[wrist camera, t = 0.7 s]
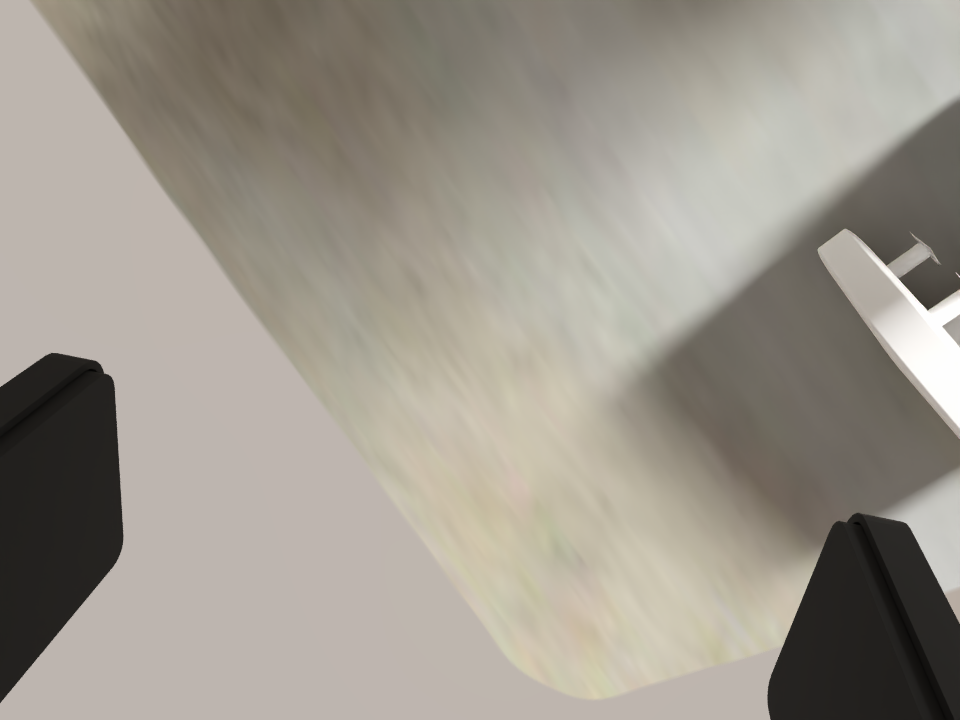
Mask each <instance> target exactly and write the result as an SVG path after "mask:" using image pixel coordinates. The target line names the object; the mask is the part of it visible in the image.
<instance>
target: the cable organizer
mask: <svg viewBox="0 0 960 720" xmlns="http://www.w3.org/2000/svg"><path fill="white" fill-rule="evenodd" d="M910 233H911V232H910ZM911 234H912V233H911ZM912 235H913V234H912ZM913 237H914V238H915V239H916V240H917V241H918V242H919V243H918V244H916V245H915V246H913V247H912V248H911V249H909V250H908V251H906V252H905V253H904V254H902V255H901V256H899V257H898V258H897V259H895V260H894V261H892V262H891V263H890V264H888V265H887V266H886V265H885V264H884V263H883V262H882V261H881V260H880V258H879V257H878V256H877V255H876V254H875V253H874V252H873V251H872V250H871V249H870V248H869V247H868V246H867V245H866V244H865V243H864V242H863V241H862V240H861V239H860V238H859V237H858V236H856V235H855V234H854V233H852V232H851V231H850V230H848V229H843V230H842V231H841V232H839V233H838V234H837V235H835V236H834V237H833V238H831V239H830V240H829V241H827V242H826V243H825V244H823V245H822V246H821V247H819V248H818V254H819V256H820V258H821V260H822V262H823V263H824V265H825V267H826V268H827V270H828V271H829V273H830V274H831V275H832V277H833V278H834V280H835V281H836V282H837V284H838V285H839V287H840V288H841V289H842V291H843V292H844V294H845V295H846V296H847V298H848V299H849V301H850V302H851V303H852V305H853V306H854V308H855V309H856V310H857V312H858V313H859V315H860V316H861V317H862V319H863V320H864V322H865V323H866V324H867V326H868V327H869V329H870V330H871V331H872V333H873V334H874V336H875V337H876V338H877V340H878V341H879V343H880V344H881V345H882V347H883V348H884V350H885V351H886V352H887V354H888V355H889V356H890V358H891V359H892V360H893V361H894V363H895V364H896V365H897V366H898V368H899V369H900V370H901V371H902V372H903V374H904V375H905V376H906V377H907V378H908V380H909V381H910V382H911V383H912V384H913V385H914V386H915V388H916V389H917V390H918V391H919V392H920V393H921V395H922V396H923V397H924V398H925V399H926V400H927V402H928V403H929V404H930V405H931V406H932V407H933V409H934V410H935V411H936V412H937V413H938V414H939V416H940V417H941V418H942V419H943V420H944V421H945V423H946V424H947V425H948V426H949V427H950V428H951V430H952V431H953V432H954V433H955V434H956V435H957V437H958V438H959V439H960V289H959V290H958V291H956V292H955V293H953V294H952V295H950V296H949V297H947V298H946V299H944V300H943V301H941V302H940V303H938V304H937V305H935V306H934V307H932V308H931V309H929V310H928V311H927V310H926V309H925V307H924V306H923V305H922V304H921V303H920V302H919V301H918V300H917V299H916V298H915V297H914V295H913V294H912V293H911V292H910V291H909V290H908V289H907V288H906V287H905V286H904V285H903V283H902V282H901V281H900V280H899V278H900V277H902V276H903V275H904V274H906V273H907V272H909V271H910V270H912V269H913V268H914V267H916V266H917V265H919V264H920V263H922V262H923V261H924V260H926V259H927V258H929V257H930V256H931V257H932V259H933V260H934V261H935V262H936V263H937V264H938V263H939V264H940V262H939V261H938V259H937V258H936V256H935V254H934V253H933V251H932V250H931V248H930V247H929V246H927V245H926V244H925V243H923V242H922V241H921V240H920V239H918V238H917V237H916V236H914V235H913ZM939 264H938V265H939ZM940 265H941V264H940ZM939 267H940V266H939ZM955 273H956V272H955ZM956 274H957V273H956ZM957 275H958V274H957ZM958 276H959V275H958ZM959 278H960V276H959Z"/></svg>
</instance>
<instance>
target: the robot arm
mask: <svg viewBox="0 0 960 720" xmlns="http://www.w3.org/2000/svg"><path fill="white" fill-rule="evenodd" d="M122 545H123V522H122V506H121V490H120V472H119V456H118V438H117V421H116V404H115V387H114V382H113V379H112V377H111V376H109V375H107V374H104V372H103V369H102V367H101V365H100V364H99V363H98V362H97V361H93V360H88V359H84V358H78V357H73V356H69V355H63V354H58V353H51V354H48V355H46V356H44V357H43V358H42V359H40V360H39V361H37V362H36V363H34V364H33V365H32V366H30V367H29V368H27V369H26V370H24V371H23V372H21V373H20V374H19V375H17V376H16V377H14V378H13V379H11V380H10V381H9V382H7V383H6V384H4V385H3V386H1V387H0V703H1V701H2V700H3V699H4V698H5V697H6V695H7V694H8V693H9V692H10V691H11V689H12V688H13V687H14V686H15V684H16V683H17V682H18V681H19V680H20V678H21V677H22V676H23V675H24V674H25V672H26V671H27V670H28V669H29V668H30V666H31V665H32V664H33V663H34V662H35V660H36V659H37V658H38V657H39V655H40V654H41V653H42V652H43V651H44V650H45V648H46V647H47V646H48V645H49V643H50V642H51V641H52V640H53V639H54V637H55V636H56V635H57V634H58V633H59V631H60V630H61V629H62V628H63V627H64V625H65V624H66V623H67V621H68V620H69V619H70V618H71V617H72V616H73V614H74V613H75V612H76V611H77V610H78V608H79V607H80V606H81V605H82V604H83V602H84V601H85V600H86V599H87V598H88V596H89V595H90V594H91V593H92V591H93V590H94V589H95V588H96V587H97V586H98V584H99V583H100V582H101V581H102V579H103V578H104V577H105V576H106V575H107V573H108V572H109V571H110V570H111V569H112V567H113V566H114V564H115V563H116V561H117V559H118V557H119V555H120V552H121V549H122ZM768 709H769V714H770V719H771V720H960V624H959V622H958V620H957V618H956V616H955V614H954V612H953V610H952V608H951V606H950V604H949V602H948V600H947V598H946V597H945V595H944V593H943V591H942V589H941V587H940V585H939V583H938V581H937V579H936V577H935V575H934V573H933V571H932V569H931V568H930V566H929V564H928V562H927V560H926V558H925V556H924V554H923V552H922V550H921V548H920V546H919V544H918V542H917V541H916V539H915V537H914V535H913V533H912V531H911V529H910V528H909V526H908V525H907V524H906V523H904V522H900V521H895V520H890V519H885V518H880V517H875V516H870V515H865V514H860V513H856V514H854V515H853V516H852V517H851V518H850V519H849V520H848V522H847V523H846V522H841V521H838V522H836V523H835V524H834V525H833V526H832V528H831V530H830V532H829V535H828V537H827V540H826V542H825V544H824V547H823V549H822V552H821V554H820V557H819V559H818V562H817V564H816V567H815V569H814V571H813V574H812V576H811V579H810V581H809V584H808V586H807V589H806V591H805V594H804V596H803V598H802V601H801V603H800V606H799V608H798V611H797V613H796V616H795V618H794V621H793V623H792V625H791V628H790V630H789V633H788V635H787V638H786V640H785V643H784V645H783V648H782V650H781V653H780V655H779V657H778V660H777V662H776V665H775V667H774V670H773V672H772V675H771V678H770V681H769V686H768Z"/></svg>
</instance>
